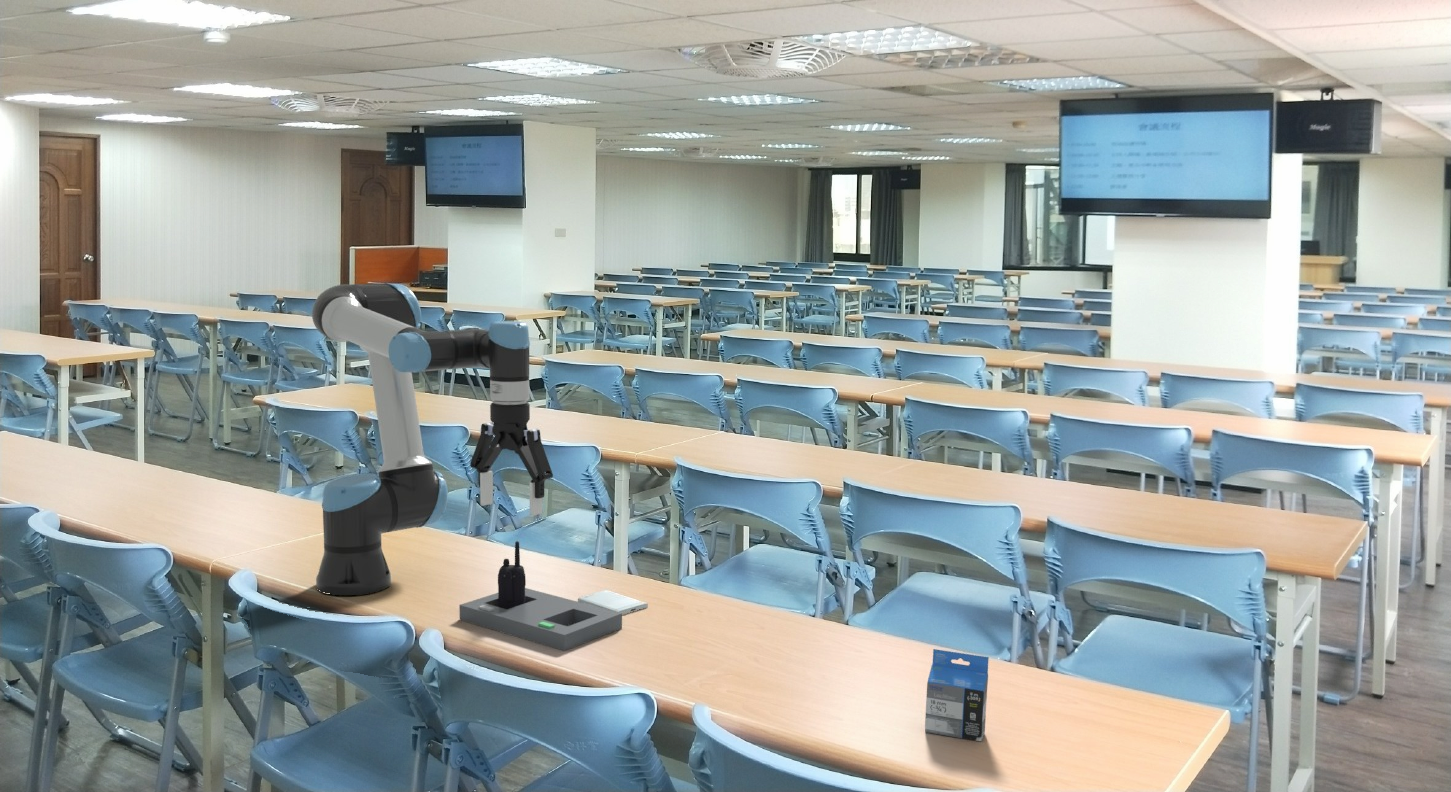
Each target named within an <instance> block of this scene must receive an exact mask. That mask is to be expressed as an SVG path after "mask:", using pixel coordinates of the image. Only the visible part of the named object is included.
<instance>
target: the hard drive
mask: <svg viewBox="0 0 1451 792" xmlns="http://www.w3.org/2000/svg"><path fill="white" fill-rule="evenodd" d="M577 602H581V603H585V604H588V605H592V606H596V607H600V608H604V609H608V610H611V611H615V612H619V613H622V616H624V615H627V613H628V614H630V612H631V613H634V612H637V610H638V611H640V610H639V609H641V610H644V609H648V608H649V603H647V602H645V601H641V600H638V599H635V598H632V597H629V596H625V595H622V594H621V593H616V592H614V591H610V590H608V589H605V590H600V591H597V592H595V593H594V592H593V593H590V594H587V595H584V596H580V597H578V598H577ZM643 608H644V609H643ZM633 611H634V612H633ZM623 614H624V615H623Z"/></svg>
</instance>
